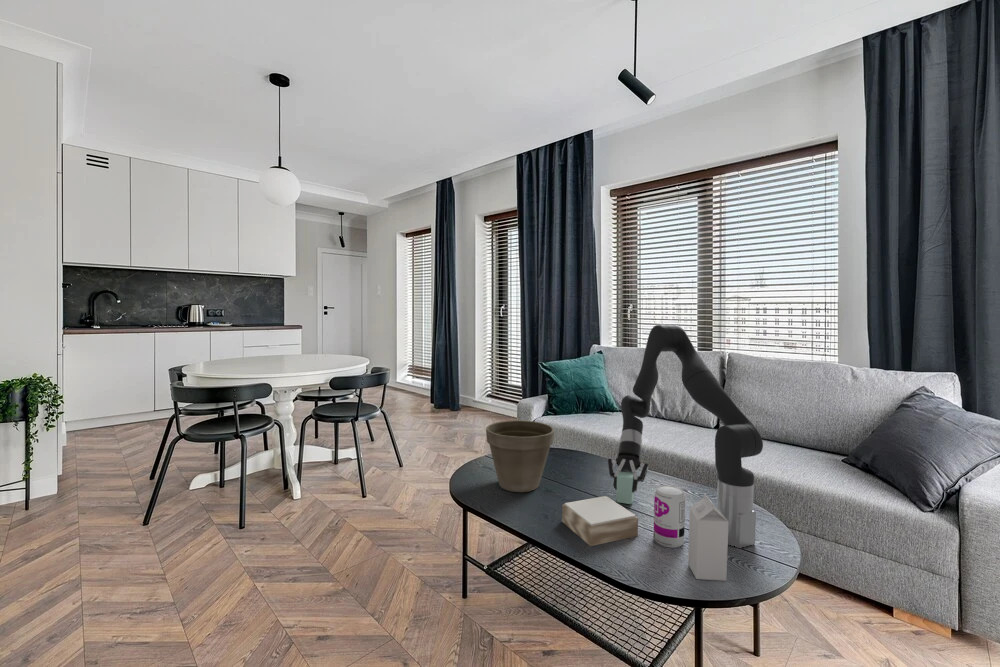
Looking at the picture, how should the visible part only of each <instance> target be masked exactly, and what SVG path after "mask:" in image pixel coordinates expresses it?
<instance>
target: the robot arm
mask: <svg viewBox="0 0 1000 667" xmlns="http://www.w3.org/2000/svg"><path fill="white" fill-rule="evenodd" d="M662 352H672V353H674V354H675V355H676V356H677V358H678V359H679V361H680V363H681V381H682V384H683V386H684V388H685V390H686V391H687V392H688V394H689V396H690V398H691V399H693V401H694V402H695V403H696V404H697V405H699V406H700V407H702V408H703V409H705V410H706V411H708V412H709V413H711V414H712V415H713V416H715V417H717V418H718V420H720V422H721V423H723V424H724V425H721V426H720V427H719V428H717V430H716V433H715V437H714V456H715V457H714V458H715V459H714V460H715V464H714V465H715V468H716V472H717V489H716V490H717V491H716V493H717V494H716V495H717V496H716V508H717V509H718V510H719V511H720V512H721V513H722V515H723V516H724V517H725V518H726V519H727V521H728V546H730V545H731V547H734V546H735V547H734V548H737V549H739V548H740V549H743V548H742V547H744V548H747V547H746V546H748V547H750V546H749V545H752V544H755V545H756V527H757V526H756V524H757V523H756V522H757V512H756V511H755V510H754V491H755V490H754V489H755V474H754V473H753V472H752V471H751V470H749V469H748V468H745V467H743V464H742V458H748V457H749V458H751V457H755V456H758V455H759V454H761V453H762V452H763V447H764V442H763V439H762V436H761V434H760V432H759V430H758V428H757V427H756V425H754V424H753V423H752V421H751V420H750V419H748V417H747V416H746V415H745V414H744V413H743V412H742V411H741V409H740V408H739V407H738V406H737V405H736V403H735V402H734V401H733V399H731V397H730V396H729V395H728V393H727V392H726V391H725V389H724V388H723V387H722V385H721V384H720V382H719V381H718V379H717V378H716V376H715V375H714V374H713V372H712V371H711V370H710V369H709V368H708V366H707V365H706V364H705V361H704V360H703V359H702V357H701V356H700V355H699V353H698V352H697V350H696V348H695V347H694V345H693V343H692V341H691V340H690V337H689V336H688V334H687V332H686V331H685V329H683V327H682V326H680V325H678V324H656V325H654V326H653V327H652V328H651V329H650V331H649V334H648V338H647V341H646V345H645V350H644V354H643V357H642V358H643V360H642V364H641V366H640V367H641V368H640V370H639V373H638V376H637V378H636V379H635V382H634V385H633V388H632V392H633V394H634V395H635V396H634V395H630V394H629V395H628V394H627V395H625V396H624V397H622V400H621V403H620V410H621V414H622V430H621V435H620V439H619V446H618V453H617V457H616V458H615V459H611V458H608V459H607V464H608V472H609V477H610V478H613V484H612V485H613V488H614V490H615V491H617V475H618V473H619V472H621V471H623V472H631V473H633V474H634V480H633V485H632V493H634V494H635V492H637V490H638V485H639V484H638V483H640V482H641V483H643V482H644V481H645V478H646V476H647V473H648V471H649V464H648V463H647V462H646V463H642V462H641V460H640V459H641V456H642V455H641V453H642V446H643V430H644V424H643V421H642V420H641V419H644V418H646V417H647V416H649V414H650V409H651V400H652V396H653V393H654V390H655V388H656V387H657V384H658V381H659V370H658V366H657V362H658V357H660V354H661V353H662ZM615 465H617V466H618V467H617V469H616V471H615V472H614V468H613V467H615ZM639 468H641V472H640V474H639V475H637V470H638V469H639ZM752 546H753V545H752Z"/></svg>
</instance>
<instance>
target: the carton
mask: <svg viewBox="0 0 1000 667" xmlns="http://www.w3.org/2000/svg"><path fill="white" fill-rule="evenodd" d="M633 480H634V474H633V473H631V472H623V471H621V472H619V473H618V475H617V490H616V503H620V504H627V505H633V502H634V499H635V492H634V493H632V485H633Z"/></svg>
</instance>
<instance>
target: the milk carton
mask: <svg viewBox="0 0 1000 667" xmlns="http://www.w3.org/2000/svg"><path fill="white" fill-rule="evenodd" d="M688 522H689V523H688V524H689V525H688V526H689V527H688V528H689V529H688V559H687V560H688V562H687V564H688V566H689V568H690V570H691V572H692V573H693V574H692V575H693V576H694V577H695V579H696V580H706V581H722V582H723V581H725V582H726V581H727V574H728V573H727V571H728V569H727V568H728V546H729V545H728V521H727V519H726V518H725V517H724V516H723V515H722V513H721V512H720V511H719V510H718V509H717V506H715V504H714V503H713V501H712V500H711V499H710V497H709V496H707V494H706V493H703V497H702V498H701V499H700V500H698V501H697V502H696V503H694V504H693V505H691V507H689V521H688Z"/></svg>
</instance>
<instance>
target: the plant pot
mask: <svg viewBox="0 0 1000 667" xmlns="http://www.w3.org/2000/svg"><path fill="white" fill-rule="evenodd" d="M485 432H486V435H485V436H486V442H487V444H489V448H490V452H491V456H492V457H491V458H492V461H493V464H494V469H495V473H496V478H497V480H498V484H499V486H500V488H501V489H503V490H505V491H509V492H513V493H528V492H532V490H533V491H535V490H536V489H538V488H539V486H540V483H541V481H542V480H541V479H542V477H543V473H544V469H545V466H546V463H547V460H548V456H549V453H550V448H551V446H552V445H553V443H554V436H555V429H554V427H552V426H551V425H549V424H548V423H547V424H546V423H543V422H539V421H531V420H504V421H503V420H502V421H498V422H494V423H491V424H489V425H487V426H486V427H485Z"/></svg>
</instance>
